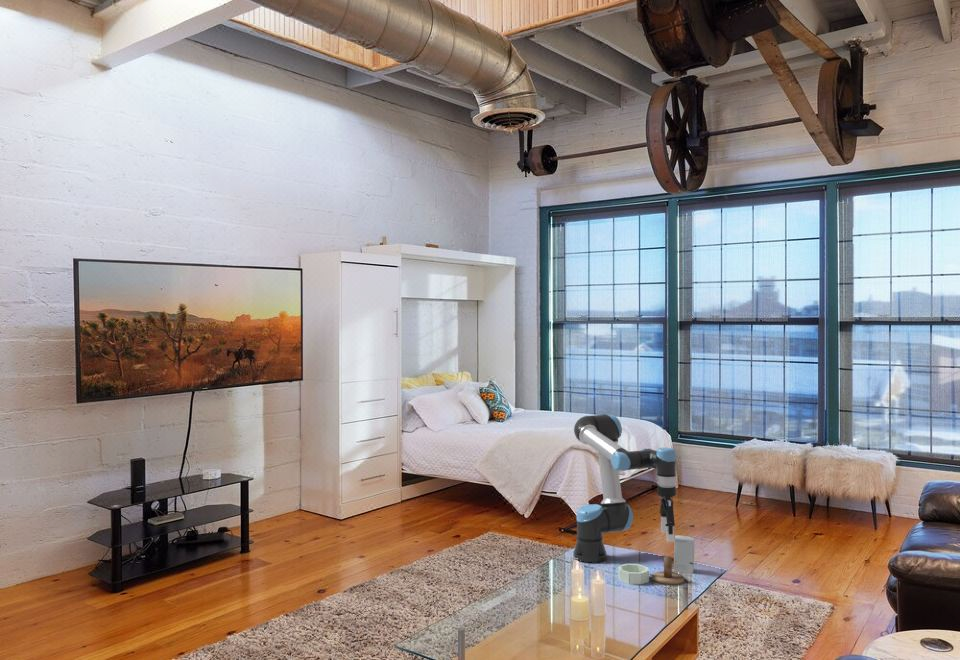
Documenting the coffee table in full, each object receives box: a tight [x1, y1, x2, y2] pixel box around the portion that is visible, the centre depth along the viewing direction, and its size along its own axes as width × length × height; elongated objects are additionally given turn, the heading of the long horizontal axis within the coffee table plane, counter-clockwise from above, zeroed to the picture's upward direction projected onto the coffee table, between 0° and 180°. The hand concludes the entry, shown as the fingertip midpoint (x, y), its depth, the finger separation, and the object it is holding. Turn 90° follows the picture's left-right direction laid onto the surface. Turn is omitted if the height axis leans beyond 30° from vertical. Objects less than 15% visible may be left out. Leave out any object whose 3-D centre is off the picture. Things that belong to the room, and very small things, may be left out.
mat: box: [649, 573, 688, 587], centre depth 297 cm, size 13×13×1 cm
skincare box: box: [673, 534, 695, 574], centre depth 308 cm, size 8×6×15 cm
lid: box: [651, 555, 685, 586], centre depth 297 cm, size 13×13×9 cm
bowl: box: [617, 563, 650, 585], centre depth 298 cm, size 12×12×5 cm
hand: (667, 537), depth 297 cm, fingers open, 13 cm apart
